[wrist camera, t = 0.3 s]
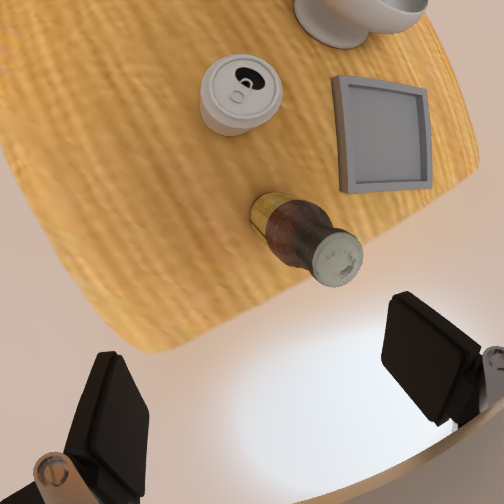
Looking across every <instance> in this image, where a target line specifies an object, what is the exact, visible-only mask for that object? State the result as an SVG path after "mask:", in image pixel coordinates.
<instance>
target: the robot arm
mask: <svg viewBox="0 0 504 504" xmlns="http://www.w3.org/2000/svg"><path fill="white" fill-rule="evenodd" d="M480 350H481V346H480V345H479V344H478V343H476V342H475V341H474V340H473V339H471V338H470V337H469V336H467V335H466V334H465V333H464V332H462V331H461V330H460V329H459V328H457V327H456V326H455V325H453V324H452V323H451V322H450V321H448V320H447V319H445V318H444V317H443V316H441V315H440V314H439V313H438V312H436V311H435V310H434V309H432V308H431V307H429V306H428V305H427V304H425V303H424V302H423V301H421V300H420V299H418V298H417V297H416V296H414V295H413V294H412V293H410V292H408V291H405V292H402V293H399V294H395V295H394V296H393V297H392V300H390V302H389V307H388V314H387V322H386V329H385V337H384V342H383V348H382V354H381V361H382V364H383V365H384V367H385V368H386V369H387V370H388V371H389V373H390V374H391V375H392V376H393V377H394V379H395V380H396V381H397V382H398V383H399V385H400V386H401V387H402V388H403V389H404V391H405V392H406V393H407V394H408V395H409V396H410V398H411V399H412V400H413V402H414V403H415V404H416V405H417V406H418V408H419V409H420V410H421V411H422V413H423V414H424V415H425V416H426V417H427V419H428V420H429V421H431V422H434V423H435V424H436V425H437V426H438V427H439V426H440V425H442V424H443V423H445V422H446V421H448V420H449V418H451V419H452V420H453V430H452V434H450V435H449V436H447V437H446V438H444V439H443V440H441V441H440V442H438V443H436V444H434V445H433V446H431V447H429V448H427V449H426V450H424V451H422V452H421V453H419V454H417V455H415V456H413V457H411V458H409V459H408V460H406V461H404V462H402V463H400V464H398V465H396V466H394V467H392V468H390V469H388V470H385V471H384V472H381V473H379V474H377V475H374V476H372V477H370V478H367V479H365V480H363V481H360V482H358V483H355V484H353V485H350V486H348V487H345V488H342V489H339V490H336V491H334V492H331V493H328V494H325V495H322V496H318V497H315V498H312V499H308V500H305V501H301V502H297V503H294V504H504V347H499V346H492V347H489V348H487V349H486V350H485V351H484V353H483V355H481V354H480V353H479V352H480ZM148 427H149V411H148V408H147V406H146V404H145V402H144V400H143V398H142V397H141V395H140V393H139V390H138V388H137V387H136V385H135V382H134V380H133V378H132V376H131V374H130V372H129V370H128V368H127V365H126V363H125V361H124V359H123V357H122V356H121V355H117V353H116V352H115V351H109V352H100V353H98V354H97V357H96V359H95V362H94V365H93V367H92V370H91V372H90V375H89V377H88V380H87V383H86V385H85V388H84V391H83V393H82V395H81V398H80V401H79V403H78V406H77V409H76V412H75V415H74V419H73V422H72V425H71V428H70V432H69V434H68V438H67V441H66V445H65V449H64V452H63V453H59V452H50V453H47V454H45V455H43V456H42V457H41V458H39V460H38V461H37V462H36V464H35V467H34V472H33V476H34V480H35V481H34V482H32V483H30V484H29V485H27V486H26V487H24V488H22V489H20V490H19V491H17V492H15V493H14V494H12V495H10V496H9V497H7V498H5V499H3V500H2V501H1V502H0V504H140V497H143V496H144V494H145V472H146V453H147V439H148Z"/></svg>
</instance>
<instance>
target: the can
mask: <svg viewBox="0 0 504 504" xmlns="http://www.w3.org/2000/svg"><path fill="white" fill-rule="evenodd" d="M282 93H283V88H282V84H281V80H280V77H279V76H278V74H277V73H276V71H275V69H274V68H273V67H272V66H271V65H269V64H268V63H267V62H266V61H265V60H263V59H261V58H258V57H256V56H253V55H248V54H233V55H228V56H225V57H223V58H221V59H219V60H217V61H215V62H214V63H213V64H212V65H211V66H210V67H209V68H208V69H207V71H206V73H205V75H204V77H203V79H202V82H201V91H200V113H201V117H202V119H203V121H204V123H205V124H206V126H207V127H209V128H210V129H211V130H212V131H214V132H215V133H218V134H220V135H223V136H237V135H241V134H244V133H246V132H248V131H249V130H251V129H253V128H255V127H257V126H259V125H261V124H263V123H264V122H266V121H268V120H269V119H270V118H271V117H272V116H273V115H274V114H275V113H276V112H277V110H278V108H279V106H280V104H281V101H282Z"/></svg>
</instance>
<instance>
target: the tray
mask: <svg viewBox="0 0 504 504" xmlns="http://www.w3.org/2000/svg"><path fill="white" fill-rule="evenodd" d="M331 84H332V93H333V102H334V111H335V122H336V133H337V146H338V162H339V182H340V191H341V192H344V193H348V194H350V193H363V192H378V191H394V190H413V189H432V142H431V126H430V115H429V105H428V97H427V89H423V88H418V87H414V86H409V85H404V84H399V83H394V82H388V81H383V80H376V79H370V78H362V77H354V76H345V75H338V76H336V77H334V78H332V79H331Z"/></svg>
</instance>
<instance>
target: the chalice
mask: <svg viewBox="0 0 504 504" xmlns="http://www.w3.org/2000/svg"><path fill="white" fill-rule="evenodd" d="M427 5H428V0H294V11H295V14H296V17H297V19H298V21H299V22H300V24H301V26H302V27H303V28H304V29H305V30H306V31H307V32H308V33H309V34H310V35H311V36H313V37H314V38H315V39H317V40H318V41H320V42H322V43H324V44H326V45H329V46H331V47H335V48H339V49H351V48H356V47H358V46H360V45H361V44H363V43H364V42H365V40H366V39H367V37H368V35H369V31H370V32H373V33H379V34H395V33H400V32H403V31H405V30H407V29H408V28H410V27H411V26H413V25H414V24H415V23H416V22H417V21H419V19H420V18H421V17H422V15H423V14H424V12H425V10H426V8H427Z"/></svg>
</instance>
